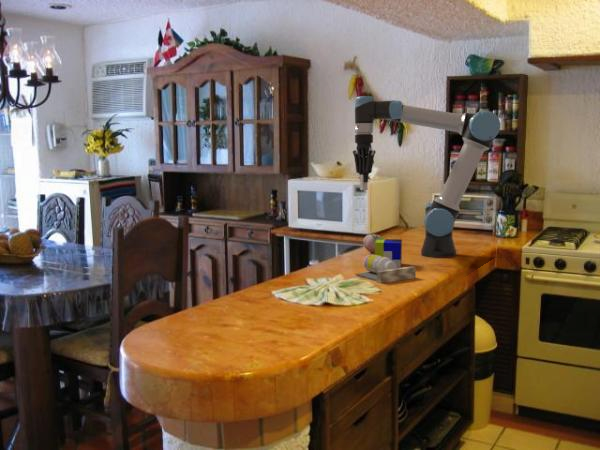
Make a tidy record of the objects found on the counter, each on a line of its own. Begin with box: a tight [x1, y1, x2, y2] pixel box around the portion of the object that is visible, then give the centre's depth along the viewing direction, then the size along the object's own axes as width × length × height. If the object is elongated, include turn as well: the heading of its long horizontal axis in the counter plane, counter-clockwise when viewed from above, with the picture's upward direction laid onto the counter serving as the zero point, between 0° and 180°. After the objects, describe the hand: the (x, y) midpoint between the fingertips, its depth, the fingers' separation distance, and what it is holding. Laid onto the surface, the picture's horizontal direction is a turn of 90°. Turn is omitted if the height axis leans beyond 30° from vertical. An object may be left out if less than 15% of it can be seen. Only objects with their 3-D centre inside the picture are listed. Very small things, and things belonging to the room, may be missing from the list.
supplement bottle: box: [363, 253, 396, 273], centre depth 228 cm, size 7×7×13 cm
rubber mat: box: [355, 271, 377, 282], centre depth 227 cm, size 14×14×1 cm
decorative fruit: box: [362, 233, 383, 255], centre depth 276 cm, size 9×8×10 cm
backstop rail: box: [376, 265, 416, 284], centre depth 220 cm, size 16×2×4 cm, turn 121°
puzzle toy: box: [374, 238, 403, 268], centre depth 248 cm, size 10×10×10 cm
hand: (363, 189), depth 262 cm, fingers closed
